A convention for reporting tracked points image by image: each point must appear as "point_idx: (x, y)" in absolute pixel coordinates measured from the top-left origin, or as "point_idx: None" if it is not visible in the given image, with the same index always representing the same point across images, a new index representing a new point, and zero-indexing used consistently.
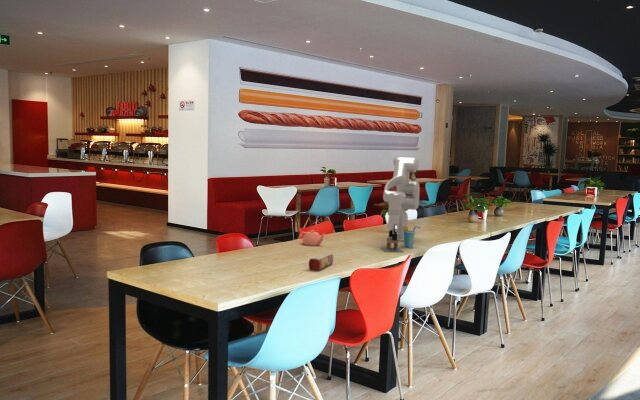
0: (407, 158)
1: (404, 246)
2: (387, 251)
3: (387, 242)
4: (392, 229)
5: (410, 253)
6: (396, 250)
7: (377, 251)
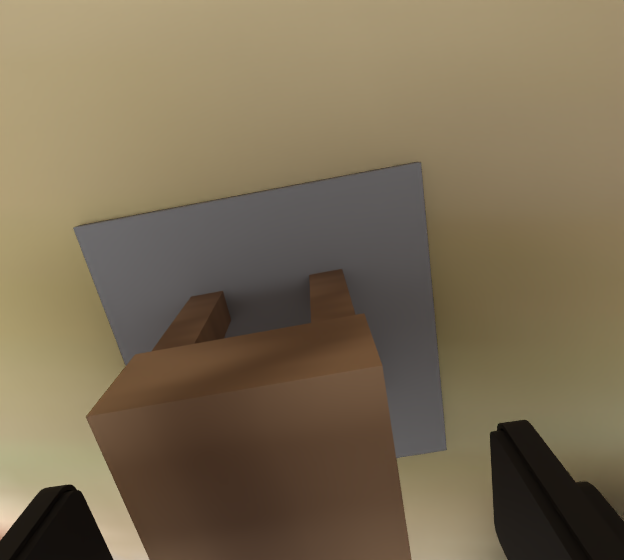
0: None
1: None
2: (95, 275)
3: (319, 321)
4: None
5: (135, 554)
6: None
7: (26, 87)
